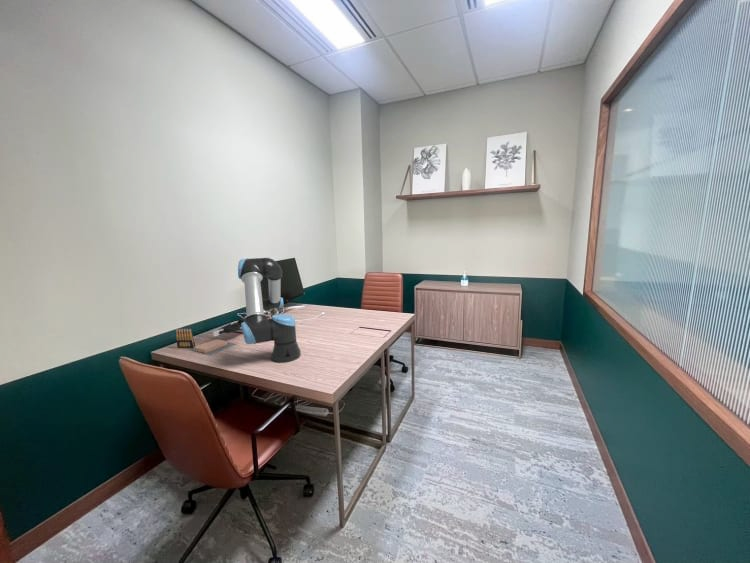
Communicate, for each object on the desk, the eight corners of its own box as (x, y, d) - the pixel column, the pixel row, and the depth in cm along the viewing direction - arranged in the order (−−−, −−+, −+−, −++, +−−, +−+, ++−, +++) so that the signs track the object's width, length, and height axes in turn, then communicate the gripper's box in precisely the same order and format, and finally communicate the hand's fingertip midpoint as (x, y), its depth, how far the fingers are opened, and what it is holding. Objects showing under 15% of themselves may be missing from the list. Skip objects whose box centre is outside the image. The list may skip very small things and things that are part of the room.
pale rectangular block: (226, 341, 179) (205, 349, 167) (227, 344, 180) (205, 353, 167) (216, 339, 184) (194, 347, 171) (216, 342, 184) (194, 350, 172)
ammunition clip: (177, 348, 177) (174, 329, 175) (179, 347, 179) (176, 328, 177) (193, 348, 175) (190, 329, 174) (195, 347, 177) (192, 328, 175)
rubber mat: (237, 344, 180) (237, 344, 180) (210, 355, 165) (210, 355, 164) (216, 340, 189) (216, 339, 189) (188, 350, 173) (188, 349, 173)
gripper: (253, 329, 195) (221, 341, 174) (239, 327, 201) (207, 338, 180) (252, 318, 194) (219, 329, 173) (238, 316, 200) (205, 327, 179)
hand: (213, 334), depth 176 cm, fingers closed
